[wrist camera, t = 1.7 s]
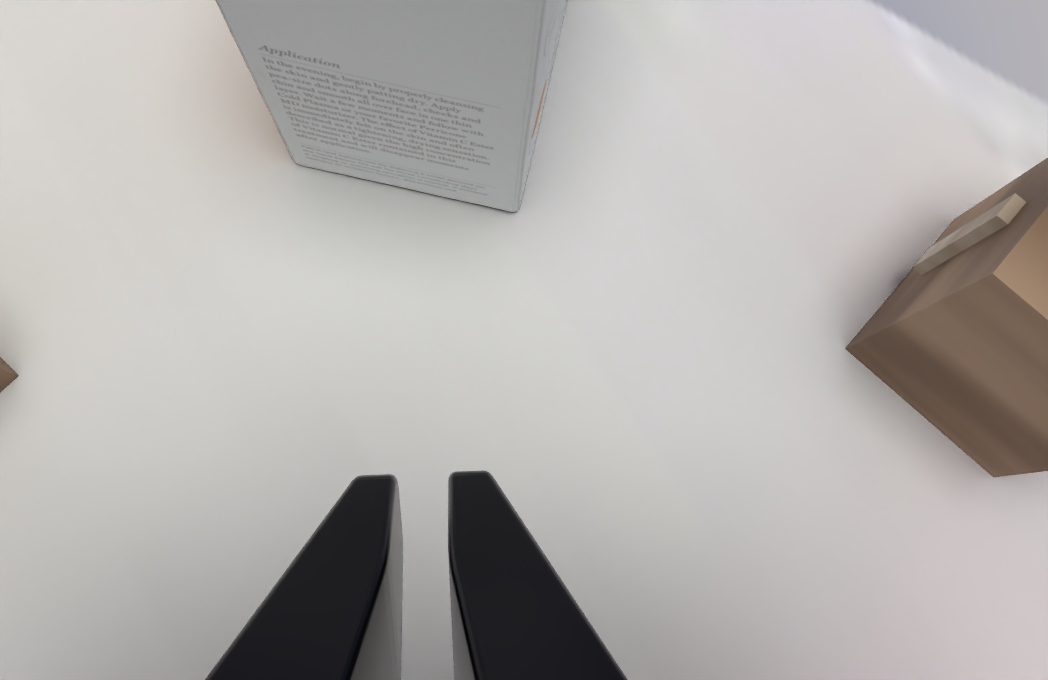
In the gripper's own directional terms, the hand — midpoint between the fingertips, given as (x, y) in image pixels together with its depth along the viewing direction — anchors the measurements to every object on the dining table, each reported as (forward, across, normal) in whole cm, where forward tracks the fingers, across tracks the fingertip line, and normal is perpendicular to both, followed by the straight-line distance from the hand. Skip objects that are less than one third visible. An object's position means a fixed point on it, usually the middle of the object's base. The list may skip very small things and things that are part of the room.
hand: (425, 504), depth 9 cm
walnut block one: (+13, -14, +7) cm, 20 cm away
